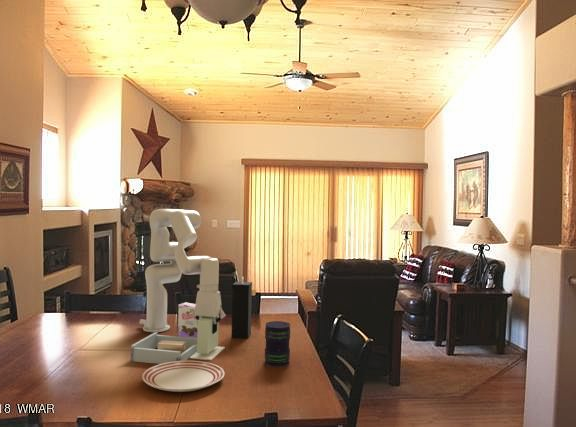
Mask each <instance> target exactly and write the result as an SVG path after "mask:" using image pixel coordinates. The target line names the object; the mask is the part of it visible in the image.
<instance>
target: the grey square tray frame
mask: <svg viewBox="0 0 576 427" xmlns="http://www.w3.org/2000/svg"><path fill="white" fill-rule="evenodd" d="M158 333H159V332H152V333H151V334H149V335H147V336H146V337H144V338H142V339H140V340H139V341H137V342H135V343H132V344H131V345H130V362H137V363H148V364H156V365H159V364H163V363H167V362H174V361H188V359H191V358H190V357H191V356H192V355H193V354H195V353H196V352H197V338H190V337H178V335H177V336H176V335H165V334H164V335H163V334H158ZM161 341H178V342H186V349H185V350H184V351H183V352H182V353H181V351H170V350H158V343H159V342H161ZM156 348H157V349H156Z"/></svg>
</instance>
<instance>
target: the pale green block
mask: <svg viewBox="0 0 576 427" xmlns="http://www.w3.org/2000/svg"><path fill="white" fill-rule="evenodd" d="M219 317H220V315H218V318H219ZM219 322H220V321H219ZM219 322H218V323H217V331H216V333H214V334H213V333H212V324H213V318H212V317H202V318H201V319H199V320H198V328H197V353H203V354H208V353H209V352H211V351H212V350H213V349H214V348H215V347H216V346H219V326H220V324H219Z"/></svg>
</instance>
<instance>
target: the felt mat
mask: <svg viewBox="0 0 576 427" xmlns="http://www.w3.org/2000/svg"><path fill="white" fill-rule="evenodd" d="M224 349H225V346H219V345H218V346H216V347H215V348H214V349H213V350H212V351H211V352H209V353H208V354H203V353H197V352H196V353H195V354H193V355H192V356H191V357H190V358H189V359H192V360H203V361H212V360H214V359H215V358H216V357H217V356H218V355H219V354H220V353H221V352H222V351H223V350H224Z"/></svg>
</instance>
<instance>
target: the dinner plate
mask: <svg viewBox="0 0 576 427" xmlns="http://www.w3.org/2000/svg"><path fill="white" fill-rule="evenodd" d="M224 376H225V371H224V368H222V367H221V366H219V365H218V364H214V363H211V362H208V361H200V360H186V361H174V362H167V363H163V364H156V365H154V366H153V365H152V366H151V367H149V368H148V369H146V370H145V371H144V372H143V373H142V376H141V379H142V381H143V382H144V383H145V384H147V385H148V386H149V387H151V388H154V389H158V390H161V391H166V392H172V393H185V392H188V393H189V392H195V391H199V390H201V389H205V388H208V387H210V386H212V385H214V384H217V383H218V382H220V381H221V380H222V379H224Z"/></svg>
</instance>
